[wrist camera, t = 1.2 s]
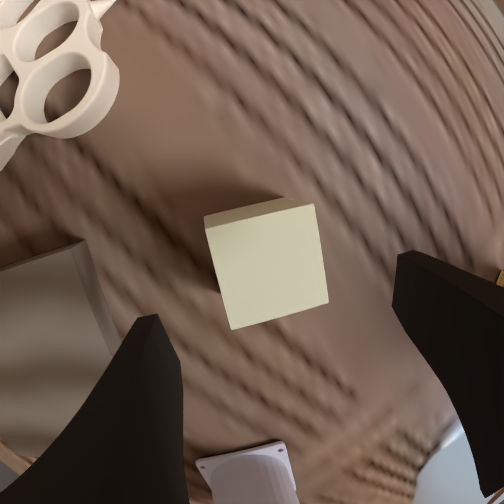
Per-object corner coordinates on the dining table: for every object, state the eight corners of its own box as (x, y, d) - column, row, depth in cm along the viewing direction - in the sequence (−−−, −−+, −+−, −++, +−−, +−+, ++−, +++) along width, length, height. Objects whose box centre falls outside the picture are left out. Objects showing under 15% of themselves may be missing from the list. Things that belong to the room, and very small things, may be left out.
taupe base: (166, 431, 21) (165, 453, 19) (23, 438, 19) (15, 455, 17) (85, 239, 17) (70, 248, 15) (-57, 289, 15) (-74, 299, 13)
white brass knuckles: (-64, 75, 11) (56, -49, 11) (14, 221, 16) (173, 63, 16) (-86, 68, 8) (44, -69, 8) (-13, 229, 13) (168, 41, 13)
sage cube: (298, 273, 20) (328, 302, 15) (223, 293, 19) (231, 330, 15) (284, 197, 19) (313, 203, 14) (203, 216, 18) (205, 229, 13)
